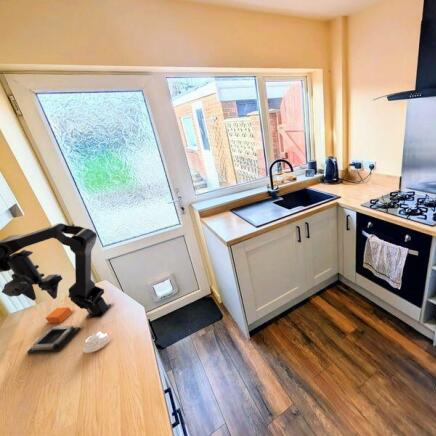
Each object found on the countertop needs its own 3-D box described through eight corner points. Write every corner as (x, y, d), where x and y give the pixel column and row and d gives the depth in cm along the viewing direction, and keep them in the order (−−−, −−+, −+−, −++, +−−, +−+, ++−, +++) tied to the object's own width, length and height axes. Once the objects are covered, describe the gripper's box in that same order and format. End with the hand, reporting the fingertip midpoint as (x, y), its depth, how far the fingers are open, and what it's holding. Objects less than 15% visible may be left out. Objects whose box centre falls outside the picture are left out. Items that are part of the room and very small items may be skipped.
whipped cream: (88, 359, 86) (81, 351, 83) (81, 349, 89) (74, 341, 87) (113, 341, 91) (107, 333, 89) (105, 332, 95) (99, 324, 92)
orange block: (72, 312, 107) (68, 307, 106) (61, 322, 102) (57, 317, 101) (60, 313, 108) (56, 307, 107) (48, 323, 103) (45, 317, 102)
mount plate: (80, 329, 98) (77, 324, 97) (59, 351, 89) (55, 347, 88) (52, 330, 99) (49, 326, 98) (28, 353, 90) (24, 349, 88)
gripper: (-24, 283, 87) (2, 315, 93) (24, 279, 85) (47, 312, 92) (9, 264, 97) (31, 295, 103) (53, 261, 96) (72, 292, 102)
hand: (44, 298), depth 100 cm, fingers open, 9 cm apart
